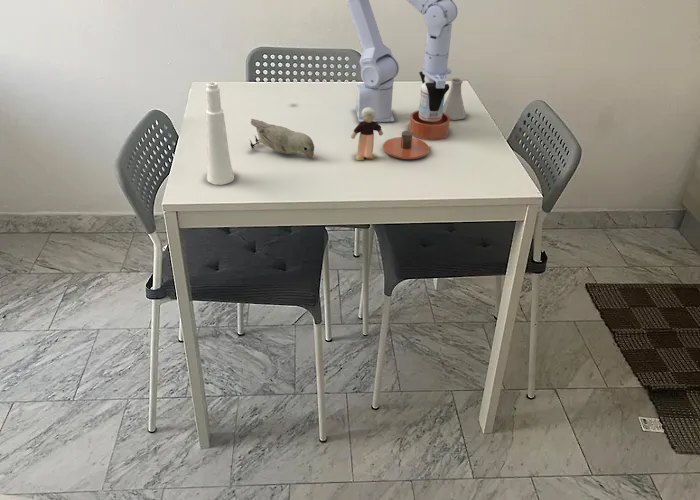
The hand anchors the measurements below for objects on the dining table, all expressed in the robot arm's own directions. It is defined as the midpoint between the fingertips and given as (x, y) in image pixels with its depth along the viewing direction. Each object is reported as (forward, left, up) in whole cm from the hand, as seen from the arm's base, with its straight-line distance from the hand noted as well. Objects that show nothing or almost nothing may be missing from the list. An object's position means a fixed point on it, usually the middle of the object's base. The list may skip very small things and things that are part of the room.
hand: (431, 105), depth 169 cm
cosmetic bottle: (-52, -23, -7) cm, 57 cm away
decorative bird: (-38, -11, -7) cm, 40 cm away
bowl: (0, 0, -7) cm, 7 cm away
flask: (+9, +10, -7) cm, 15 cm away
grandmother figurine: (-18, -14, -7) cm, 24 cm away
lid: (-8, -11, -6) cm, 15 cm away
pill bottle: (0, 0, -4) cm, 4 cm away
